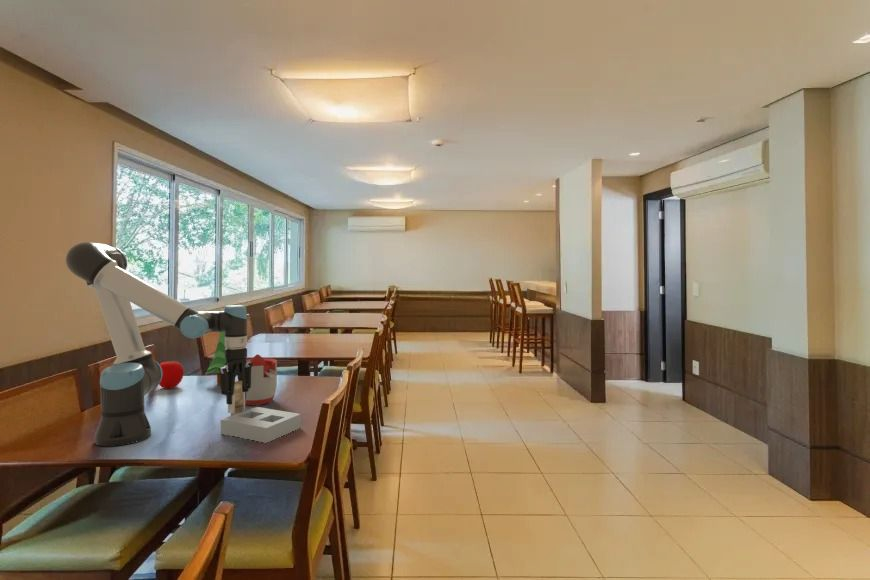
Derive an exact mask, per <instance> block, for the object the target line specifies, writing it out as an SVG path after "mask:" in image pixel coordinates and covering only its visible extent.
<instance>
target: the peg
mask: <svg viewBox="0 0 870 580" xmlns="http://www.w3.org/2000/svg"><path fill="white" fill-rule="evenodd" d="M233 395H235V413H230V416H232V415H235V414H238V413H241V412H244V410H243V404H242V380H238V379H235V384H234V390H233Z"/></svg>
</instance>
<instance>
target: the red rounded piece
mask: <svg viewBox="0 0 870 580" xmlns="http://www.w3.org/2000/svg"><path fill="white" fill-rule="evenodd" d="M159 365H160V366H161V368H162V379H161V381H160V383H159V384H158V386H159V387H161V388H163V389H165V390H167V389H168V390H169V389H174V388H176V387H178V385H179V384H180V383H181V382H182V380H183V378H184V368H183V366H182V364H181V363H180V362H178V361H175V360H168V361H163V362H161V363H160V364H159Z"/></svg>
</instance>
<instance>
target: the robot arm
mask: <svg viewBox="0 0 870 580" xmlns="http://www.w3.org/2000/svg"><path fill="white" fill-rule="evenodd" d="M65 264H66V267H67V268H68V269H69V271H70V272H71V273H72V274H73V275H74V276H75V277H78V278H80V279H82V280H84V281H85V282H86V285H87V287H88V288H90V289H91V290H94V291H95V292H94V293H95V295H96V298H97V302H98V304H99V307H100V310H101V313H102V317H103V319H104V321H105V325H106V328H107V331H108V335H109V338H110V340H111V343H112V346H113V350H114V353H115V356H116V358H115V359H114V361H113V363H112V365H110V366H107V367H106V368H103V370H101V373H100V376H99V377H100V378H99V388H100V393H99V394H100V419H99V422H98V425H97V428H96V432H95V434H94V444H95V443H96V444H98V445H103V446H102V447H107V446H108V447H114V446H113V445H121V446H124V445H123V444H127V445H129V444H128V443H131V444H133V443H132V442H135V443H137V442H136V441H138V442H141V441H143V439H144V440H146V439H147V437H148V438H149V437H150V436H151V435H152V427H151V425H150V422H149V419H148V417H147V414H146V411H145V395H147V394H150V393H152V392H153V391H154V390H155V389H156V388H158V386H159V383H160V381H161V379H162V368H161V366H160V364H159V362H158V361H157V360H155V359H154V356H153V353H152V352H151V351H149V350H147V349H146V347H145V343H144V342H143V338H142V335H141V333H140V328H139V326H138V323H137V320H136V316H135V313H134V310H133V306H132V304H134V305H136V307H139V308H140V309H142V310H144V311H146V312H147V313H149V314H151V315H153V316H155V317H156V318H158V319H160V320H161V321H162V320H163V321H164V322H166V323H167V324H169V325H171V326H173V327H175V328H176V329H177V330H179V331H180V332H181V334H182V335H183V336H184V337H185V338H188V339H197V338H198V339H199V338H201V337H203V336H204V335H206V334H209V333H220V332H225V347H226V349H225V359H226V364H225V366H224V367H223V368H219V372H220V374H221V386H220V393H221V395H224V396H226V405H227V414H229V413H230V414H231V413H235V395H233V390H234V384H235V380H236V377H237V380H242V404H243V411H246V404H245V400H246V392H248V391H249V389H250V388H251V368H252V364H253V363H252V362H247V360H248V359H247V358H248V348H247V346H248V314H247V307H246V306H245V305H241V304H238V305H237V304H236V305H234V304H233V305H232V304H231V305H225V306H224V307H223V308H224V309H223V310H221V311H219V310H218V311H215V310H212V311H211V310H209V311H206V310H205V311H201V310H197V311H196V310H194V309H192V308H190V307H188V306H187V305H185V304H184V303H182V302H180V301H178V300H177V299H176V298H174V297H171V296H170V295H168V294H166V293H165V292H163V291H161V290H160V289H158V288H156V287H154V286H152V285H151V284H149V283H147V282H146V281H144V280H142V279H141V278H140V277H137V276H135V275H134V274H132V273H131V272H129V271H127V268H128V259H127V257H126V255H125V253H124V252H123V251H122V250H121V249H120V248H118V247H116V246H114V245H111V244H107V243H97V242H92V241H91V242H90V241H86V242H80V243H77V244H75V245H73V246H72V247H71V248H70V249H69V250H68V252H67V253H66V256H65ZM131 303H132V304H131ZM231 373H232V374H231ZM247 384H248V385H247ZM145 438H146V439H145ZM140 440H141V441H140ZM96 444H95V445H96ZM98 445H97V446H98Z"/></svg>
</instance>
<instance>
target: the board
mask: <svg viewBox="0 0 870 580" xmlns="http://www.w3.org/2000/svg"><path fill="white" fill-rule="evenodd" d="M301 423H302V416H301V413H297V412H290V411H284V410H279V409H272V408H267V407H260V406H255V407H252V408H250V409H247V410H246V409H245V410H243V412H241V413H238V414H235V415H232V416H231V415H229V416H227V417H226V416H225V417H223V418H220V435H222V434H224V435H223V436H227V435H230V436H229V437H232V436H235V437H234V438H236V437H240V438H239V439H241V438H245V439H244V440H246V439H250V440H249V441H251V440H255V441H254V442H256V441H261V442H266V443H267V442H269V441H271V440H273V439H276V438H278V437H280V438H282V437H281V436H283V435H285V436H287V435H289V434H291V433H293V432H292V431H294V430H296V431H298V430H300V429H301V428H302V424H301ZM299 428H300V429H299ZM297 429H298V430H297ZM290 432H291V433H290ZM294 432H295V431H294ZM288 433H289V434H288ZM286 434H287V435H286ZM283 437H284V436H283ZM278 439H279V438H278ZM276 440H277V439H276ZM261 442H260V443H261ZM269 443H270V442H269ZM267 444H268V443H267Z"/></svg>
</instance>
